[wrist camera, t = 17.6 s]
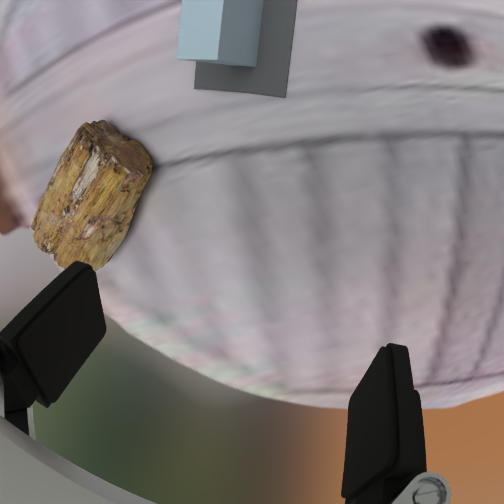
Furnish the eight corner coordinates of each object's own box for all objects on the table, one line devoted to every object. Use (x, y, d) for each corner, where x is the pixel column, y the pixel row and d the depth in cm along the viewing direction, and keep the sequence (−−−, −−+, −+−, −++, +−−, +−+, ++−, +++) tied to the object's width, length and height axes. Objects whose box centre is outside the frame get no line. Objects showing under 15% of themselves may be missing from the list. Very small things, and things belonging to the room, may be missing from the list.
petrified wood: (104, 103, 35) (63, 126, 27) (181, 160, 40) (160, 196, 32) (51, 204, 44) (18, 241, 36) (114, 249, 49) (90, 293, 41)
